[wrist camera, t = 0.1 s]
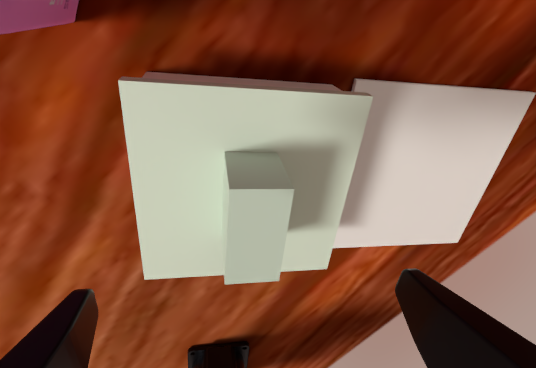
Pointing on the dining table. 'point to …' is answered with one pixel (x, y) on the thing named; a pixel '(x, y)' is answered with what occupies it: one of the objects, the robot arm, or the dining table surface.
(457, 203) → the mat
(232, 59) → the dining table surface
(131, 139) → the lid
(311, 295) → the dining table surface
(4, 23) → the gum box
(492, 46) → the dining table surface
